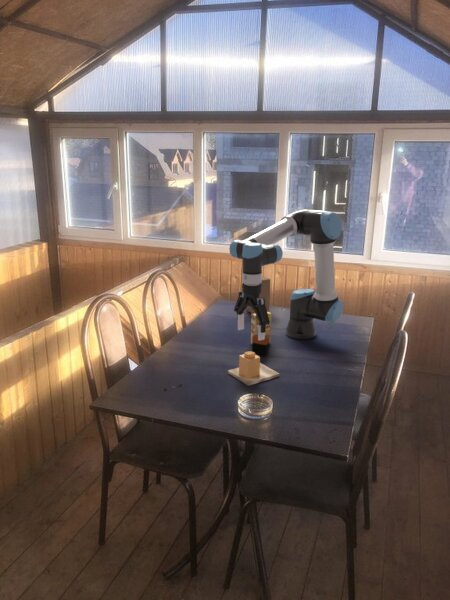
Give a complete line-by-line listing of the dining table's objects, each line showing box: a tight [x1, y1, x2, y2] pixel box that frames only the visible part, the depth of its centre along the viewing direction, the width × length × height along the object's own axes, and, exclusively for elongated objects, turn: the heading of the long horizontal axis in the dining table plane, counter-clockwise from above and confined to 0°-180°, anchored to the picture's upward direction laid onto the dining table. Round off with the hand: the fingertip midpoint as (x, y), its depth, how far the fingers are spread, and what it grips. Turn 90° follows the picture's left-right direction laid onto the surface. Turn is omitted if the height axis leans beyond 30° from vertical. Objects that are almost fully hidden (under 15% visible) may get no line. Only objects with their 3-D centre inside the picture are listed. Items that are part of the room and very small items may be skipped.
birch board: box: [227, 362, 280, 387], centre depth 205 cm, size 16×14×7 cm
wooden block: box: [245, 275, 271, 314], centre depth 284 cm, size 10×10×20 cm
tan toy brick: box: [238, 350, 261, 379], centre depth 202 cm, size 6×6×9 cm
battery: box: [251, 332, 270, 357], centre depth 226 cm, size 4×7×10 cm, turn 65°
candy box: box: [250, 311, 272, 345], centre depth 237 cm, size 9×4×15 cm, turn 116°
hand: (250, 334), depth 198 cm, fingers open, 13 cm apart
